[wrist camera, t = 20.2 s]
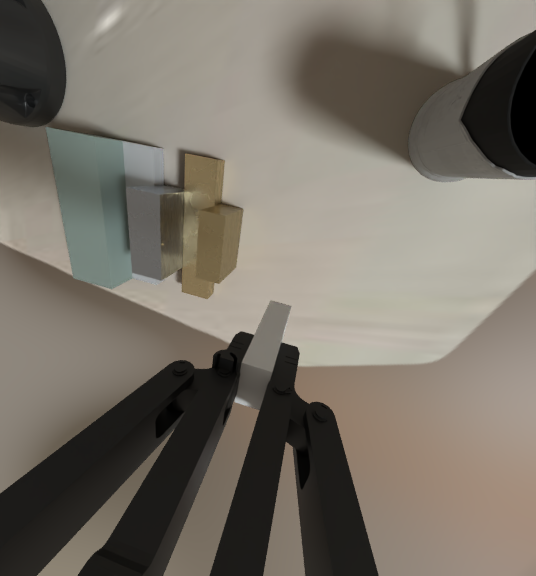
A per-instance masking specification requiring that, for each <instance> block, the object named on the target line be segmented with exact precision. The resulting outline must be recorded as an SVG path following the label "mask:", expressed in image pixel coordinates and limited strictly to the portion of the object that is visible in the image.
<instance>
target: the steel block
mask: <svg viewBox="0 0 536 576" xmlns="http://www.w3.org/2000/svg"><path fill="white" fill-rule="evenodd" d="M126 198H127V211H128V225H129V239H130V252H131V266H132V273H134V274H138V275H142V276H146V277H149V278H153V279H157V280H160V281H162V280H163V279H165V278H167V277H168V276H170V275H171V274H173V273H175V272H176V271H178V270H179V269H181V268H182V261H183V220H184V189H181V188H177V187H172V186H167V185H153V186H137V187H126Z"/></svg>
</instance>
